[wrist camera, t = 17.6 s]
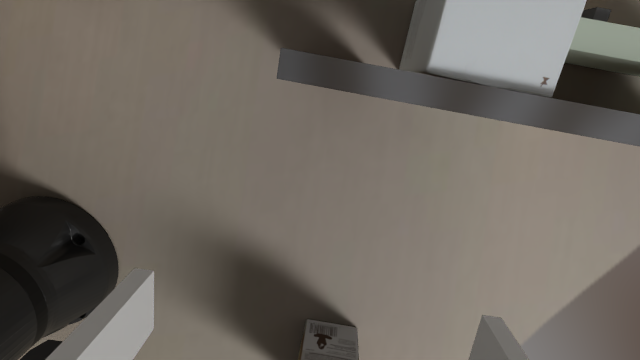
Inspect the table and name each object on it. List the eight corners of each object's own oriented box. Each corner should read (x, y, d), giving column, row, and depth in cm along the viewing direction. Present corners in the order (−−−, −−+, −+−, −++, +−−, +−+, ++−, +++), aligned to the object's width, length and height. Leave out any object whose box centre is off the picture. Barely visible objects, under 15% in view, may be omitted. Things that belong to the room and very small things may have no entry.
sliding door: (495, 49, 34) (545, 44, 25) (506, 11, 33) (563, -8, 24) (672, 82, 34) (783, 88, 25) (688, 45, 33) (809, 37, 24)
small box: (503, 16, 34) (596, -13, 21) (480, 88, 36) (554, 100, 23) (413, -2, 34) (454, -41, 21) (396, 71, 36) (424, 74, 23)
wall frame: (301, 73, 36) (276, 78, 23) (304, 54, 36) (280, 47, 22) (654, 139, 36) (833, 182, 23) (662, 120, 35) (851, 153, 22)
